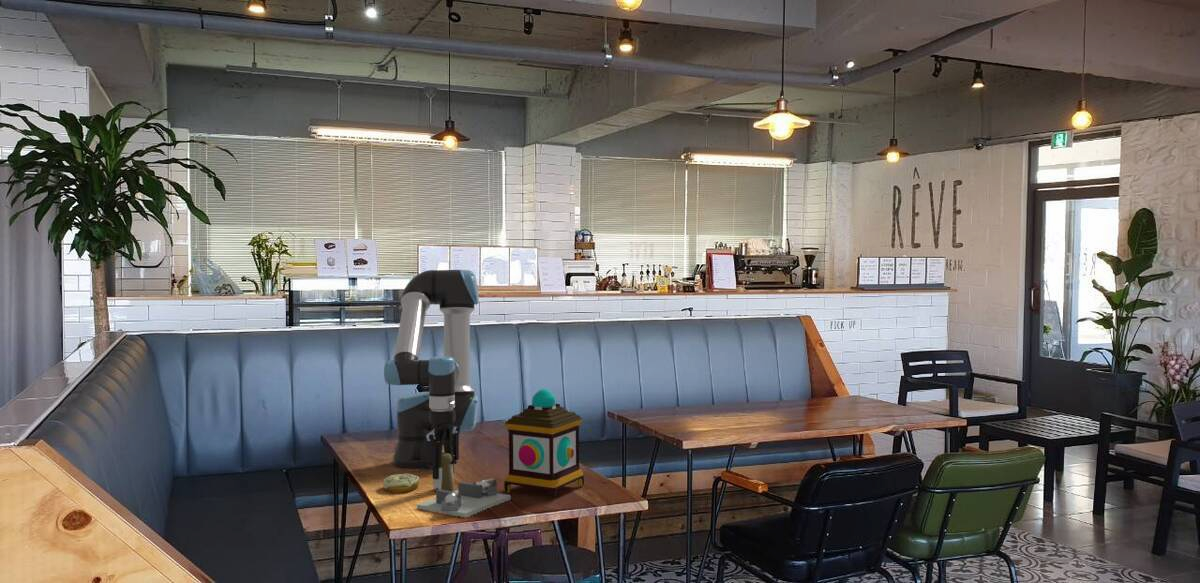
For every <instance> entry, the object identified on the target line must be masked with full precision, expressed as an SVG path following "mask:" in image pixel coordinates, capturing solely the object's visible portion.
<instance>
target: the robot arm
mask: <svg viewBox="0 0 1200 583" xmlns="http://www.w3.org/2000/svg"><path fill="white" fill-rule="evenodd" d="M478 290H479V288H478V284H477V277H476V274H475V272H474V271H472V270H469V269H467V270H466V269H430V270H429V269H428V270H424V271H422V272H420V273H418V274H417V275H415V276H414V277H412V279H410V280H409V282H408V283H407V284H406V286H405V287H404V289H403V292H402V294H401V299H400V305H401V307H402V310H401V316H400V321H399V326H398V327H399V328H398V332H397V340H396V345H395V350H394V355H393V359H391V360H386V361H385V362H384V367H383V377H384V378H383V379H384V382H385V383H386V384H387V385H390V386H410V385H411V386H413V385H415V386H417V385H428V386H429V387H428V389H429V391H421V392H414V393H410V394H405V395H403V396H401V397H399V398H398V399H397V404H396V406H397V407H396V408H397V410H396V413H397V414H396V419H397V420H396V421H397V422H396V423H397V426H396V427H397V443H396V446H395V449H394V454H393V456H392V466H394V467H397V468H402V469H419V468H431V469H432V479H433V487H434V489H436V488H438V490H439V489H440V490H441V488H442V468H440V463H441V454H442V453H443V452H444V453H449V454H451V456H452V462H451V463H450V467H451V474H452V480H453V481H454V473H455V471H454V470H455V468H454V467H455V465H457V462H458V461H459V459H460V449H459V448H460V433H461V432H470V431H473V430H474V429H475V427H476V423H477V418H478V412H479V401H480V399H479V398H480V397H479V396H477V395H475V390H474V388H472V387H471V385H470V384H471V383H470V382H471V375H470V374H471V372H470V371H471V368H470V367H471V362H470V361H471V359H470V358H471V357H470V356H471V353H470V352H471V348H470V347H471V332H470V331H471V327H470V326H471V324H470V322H471V320H470V319H471V318H470V317H471V314H472V312H474V311H475V305H479V303H480V300H479V291H478ZM431 305H439V311H440V312H441V313H442V314H443V355H440V356H438V355H437V356H432V357H430V358H429V359H420V354H421V346H422V341H423V334H424V326H425V319H426V312H427V311H428V310H429V309H430V306H431ZM443 450H444V451H443Z"/></svg>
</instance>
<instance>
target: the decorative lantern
mask: <svg viewBox="0 0 1200 583" xmlns="http://www.w3.org/2000/svg"><path fill="white" fill-rule="evenodd" d="M556 402H557V401H556V397H555V395H554V394H553V393H552V391H550V390H548V389H547V388H541V389H539V390H537V392H536V393H535V394H534V395H533V396H532V399H531V404H529V405H527V408H525V409H523V411H521V412H519V413H517V414H514V415H512V416H511V417H509V418H508V419H507V420H506V421H505V422H504V425H505V427H506V429H507V433H508V473H507V476H506V477H505V480H504V484H503V485H504V492H505V493H507V494H509V493H510V492H511V488H512V486H520V487H526V488H532V489H533V488H534V489H539V490H540V489H541V490H545V491H546V490H547V491H548V492H549V494H550V498H551V500H556V498H557V491H558V490H560V488H563V487H565V486H567V485H569V484H571V483H574V482H576V481H577V485H578V487H580V486H582V487H583V486H584V484H585V475H584V473H583V470H582V469H581V468H580V426H581V423H582V421H583V417H581V416H580V414H577V413H576V412H575V411H568V409H565V408H564V406H561V403H556Z"/></svg>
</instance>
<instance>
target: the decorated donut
mask: <svg viewBox="0 0 1200 583" xmlns="http://www.w3.org/2000/svg"><path fill="white" fill-rule="evenodd" d="M382 483H383V488H384V489H385V490H386V491H387V492H389V491H391V492H390V493H394V492H399V494H401V493H400V492H402V493H407V492H412V491H414V490H416V489H417V488H418V487H419V484H420V477H419V476H418V475H415V474H412V473H401V474H400V473H398V474H391V475H389V476H387V477H386V478H384V479H383V481H382ZM411 490H412V491H411Z"/></svg>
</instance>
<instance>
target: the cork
mask: <svg viewBox="0 0 1200 583" xmlns="http://www.w3.org/2000/svg"><path fill="white" fill-rule="evenodd" d="M451 462H452V456H451V454H449V453H445V452H442V454H441V463H440V468H442V488H441V490H446V491H455V488H454V479H453V480H452V474H451V467H450V463H451ZM432 490H434V491H435V492H434V491H433V492H434V493H436V490H438V488H436V489H434V486H433V489H432Z"/></svg>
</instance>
